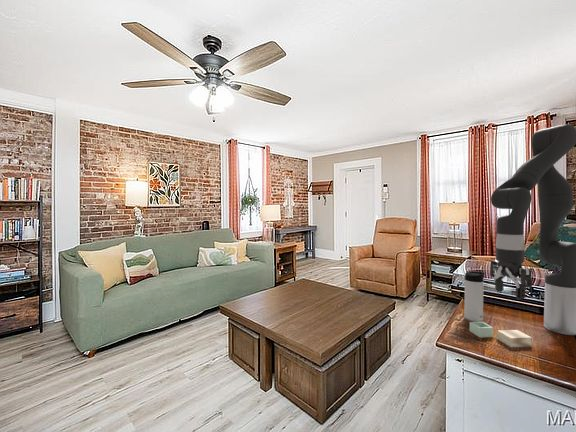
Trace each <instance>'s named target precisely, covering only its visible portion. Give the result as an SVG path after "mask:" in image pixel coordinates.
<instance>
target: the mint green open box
mask: <svg viewBox="0 0 576 432" xmlns="http://www.w3.org/2000/svg"><path fill="white" fill-rule="evenodd" d="M469 332H470V333H472V334H473V335H475V336H476V337H478V338H481V339H482V338H483V339H485V338H494V327H493V326H491V325H489V324H488V323H486V322H485V321H483V322H471V321H469Z"/></svg>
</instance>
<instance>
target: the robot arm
mask: <svg viewBox="0 0 576 432" xmlns="http://www.w3.org/2000/svg"><path fill="white" fill-rule="evenodd" d="M575 145H576V127H575V126H574V125H572V124H559V125H556V126H552V127H547V128H542V129H539V130H537V131H535V132H534V133H533V134H532V137H531V149H532V155H533V156H532V157H531V158H530V159H528V160H527V161H526V162H524V163H522V165H520V167H518V168H517V170H516V171H515V172H514V173H513V175H512V176H511V178H509V179H507V180H506V181H504V182H503V183H502V184H499V186H498V187H497V188H496V189H494V191H493V192H492V194H491V197H490V203H491V205H492V206H493V208H496V209H500V210H511V212H510V213H509V214H508V215H503V216H500V217H498V218H497V221H496V237H495V238H496V239H495V260H491V261H490V266H489V267H490V268H489V275H490V277H492V278H493V280H494V287H495V291H496V292H502V291H504V278H505V277H507V278H509V279H510V280H511V281H512V282H513V283H514V284H515V286H516V287H515V298H516V299H517V300H524V299H525V297H526V289H528V288H533V281H532V280H533V278H532V277H533V276H532V269H531V268H523V266H522V265H523V263H524V262H525V246H526V245H525V243H526V242H525V235H524V234H525V220H526V217H527V214H528V211H529V208H530V206H531V203H532V193H531V192H530V191H532V190H533V189H534V188H535V187H536V186H537V198H538V200H537V201H538V208H539V209H538V210H539V221H540V222H539V225H540V227H539V245H538V247H539V248H538V249H539V257H540V259H541V261H542V262H543V263H545V264H548V265H553V266H558V267H561V269H560V272H556V273H548V274H546V275H545V276H544V300H543V302H544V305H543V309H544V310H543V327H544V328H545V329H546V330H548V331H551V332H554V333H556V334H561V335H567V336H576V242H570V241H563V240H559V230H560V229H559V228H560V226H561V225H562V223H563V221H565V220H566V218H567V217H568V215H569V214H570V213H571V211H572V209H573V207H574V194H573V193H574V192H573V191H574V190H573V187H572V185H571V184H570V182H569V181H568V180H567V179H566V178H565V176H563V175H562V174H561V173H560V172H559V171H558V170H557V169H556V167H555V164H556V163H557V162H558V161H559V160H561V159H562V158H563V157H564V156H565V155H567V153H569V152H570V151H571V150H572V149H574V147H575Z"/></svg>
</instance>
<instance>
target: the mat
mask: <svg viewBox="0 0 576 432" xmlns="http://www.w3.org/2000/svg"><path fill="white" fill-rule="evenodd" d="M494 339H495V340H496V341H499V342H500V343H502V344H503V345H505V346H507V347H508V348H509V349H521V348H523V349H524V348H525V349H526V348H534V346H533V345H531V346H528V347H510V346H508V345H507V344H505V343H503V342H502V341H500V340H498V339H497V337H496V338H494Z"/></svg>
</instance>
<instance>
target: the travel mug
mask: <svg viewBox="0 0 576 432" xmlns="http://www.w3.org/2000/svg"><path fill="white" fill-rule="evenodd" d="M464 275H465V276H464V306H463V307H464V308H463V309H464V311H463V312H464V313H463V314H464V315H463V316H464V319H465V320H466V321H469V322H484V275H485V272H484V271H466V272H465V273H464Z"/></svg>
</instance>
